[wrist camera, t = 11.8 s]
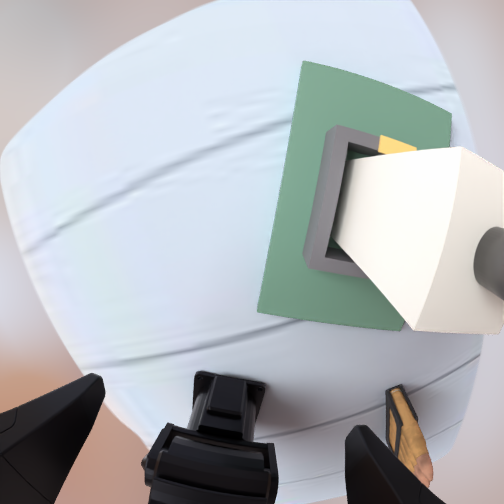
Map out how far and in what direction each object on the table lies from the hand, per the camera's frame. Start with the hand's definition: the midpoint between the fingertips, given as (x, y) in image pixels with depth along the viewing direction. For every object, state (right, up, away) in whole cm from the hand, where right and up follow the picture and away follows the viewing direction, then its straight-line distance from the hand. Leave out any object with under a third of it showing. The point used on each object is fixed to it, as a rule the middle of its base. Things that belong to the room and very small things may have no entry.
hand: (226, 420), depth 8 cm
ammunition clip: (+17, -13, +16) cm, 27 cm away
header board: (+9, +9, +10) cm, 16 cm away
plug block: (+9, +9, +9) cm, 15 cm away
